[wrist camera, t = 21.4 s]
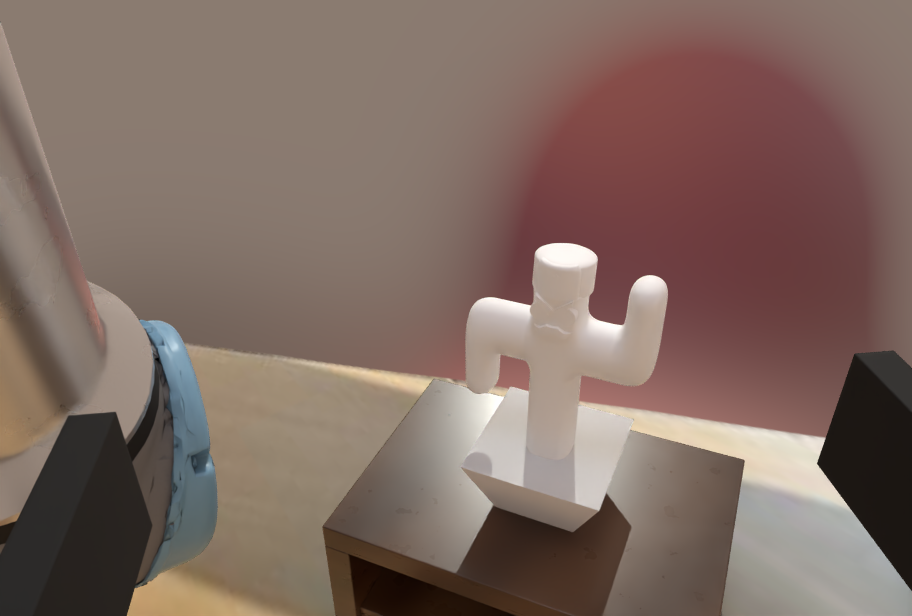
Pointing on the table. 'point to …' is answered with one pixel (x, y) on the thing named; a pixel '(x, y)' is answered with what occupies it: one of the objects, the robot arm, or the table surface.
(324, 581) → the table surface
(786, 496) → the table surface
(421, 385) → the table surface
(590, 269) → the figurine
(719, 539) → the shelf stand
